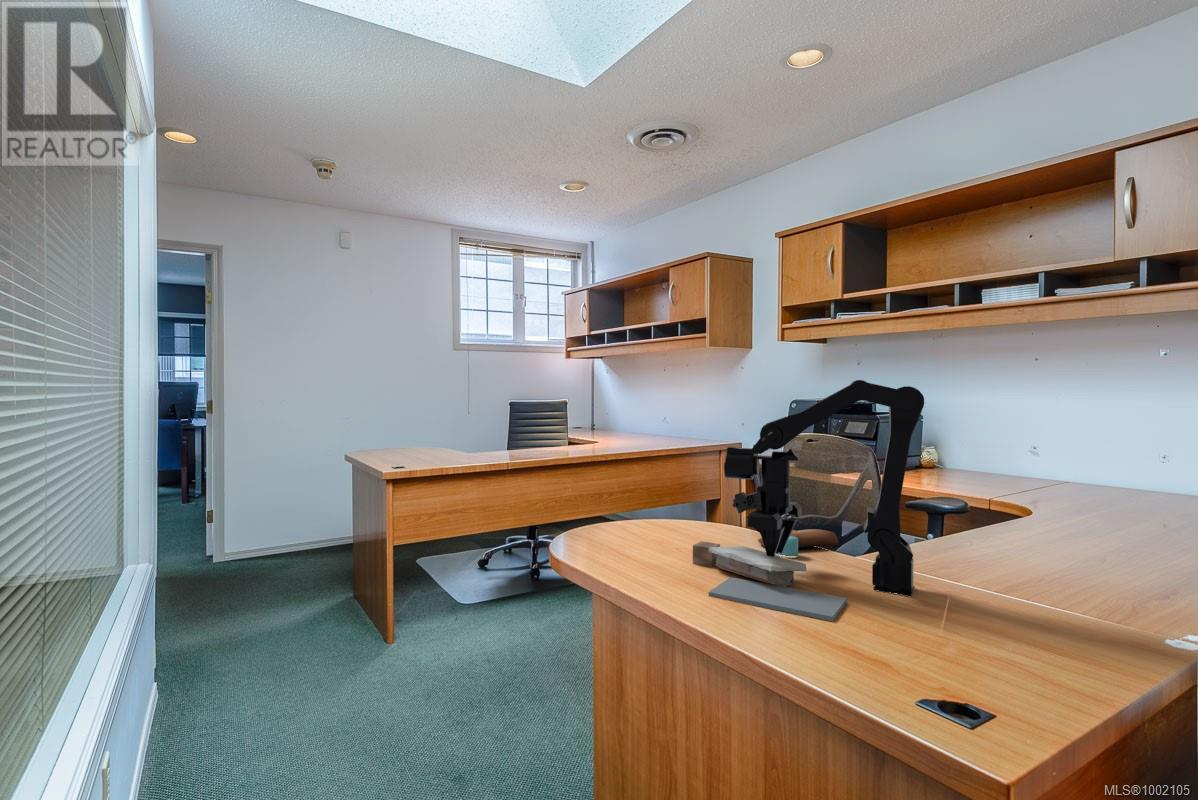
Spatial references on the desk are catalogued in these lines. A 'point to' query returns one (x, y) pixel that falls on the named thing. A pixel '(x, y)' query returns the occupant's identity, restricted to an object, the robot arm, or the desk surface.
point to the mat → (780, 598)
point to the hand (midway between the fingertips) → (775, 555)
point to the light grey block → (757, 564)
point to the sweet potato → (813, 538)
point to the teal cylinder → (791, 547)
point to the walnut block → (704, 554)
